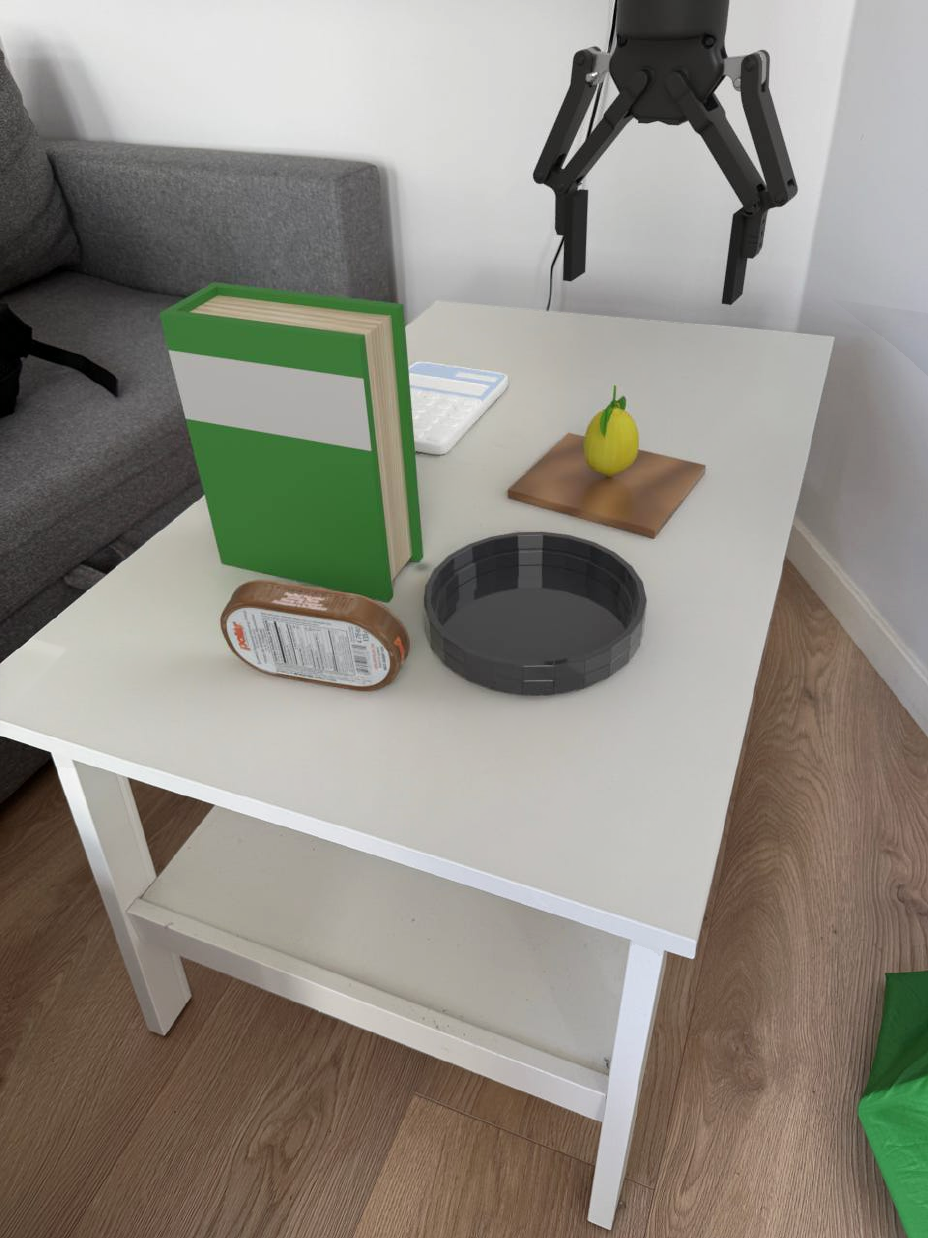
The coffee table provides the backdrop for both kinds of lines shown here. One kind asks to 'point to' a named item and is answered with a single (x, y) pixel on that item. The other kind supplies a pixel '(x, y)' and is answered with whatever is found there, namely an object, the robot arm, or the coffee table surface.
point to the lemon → (611, 439)
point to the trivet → (609, 487)
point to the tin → (315, 635)
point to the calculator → (449, 402)
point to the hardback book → (301, 432)
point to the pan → (534, 612)
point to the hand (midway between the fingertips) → (649, 287)
